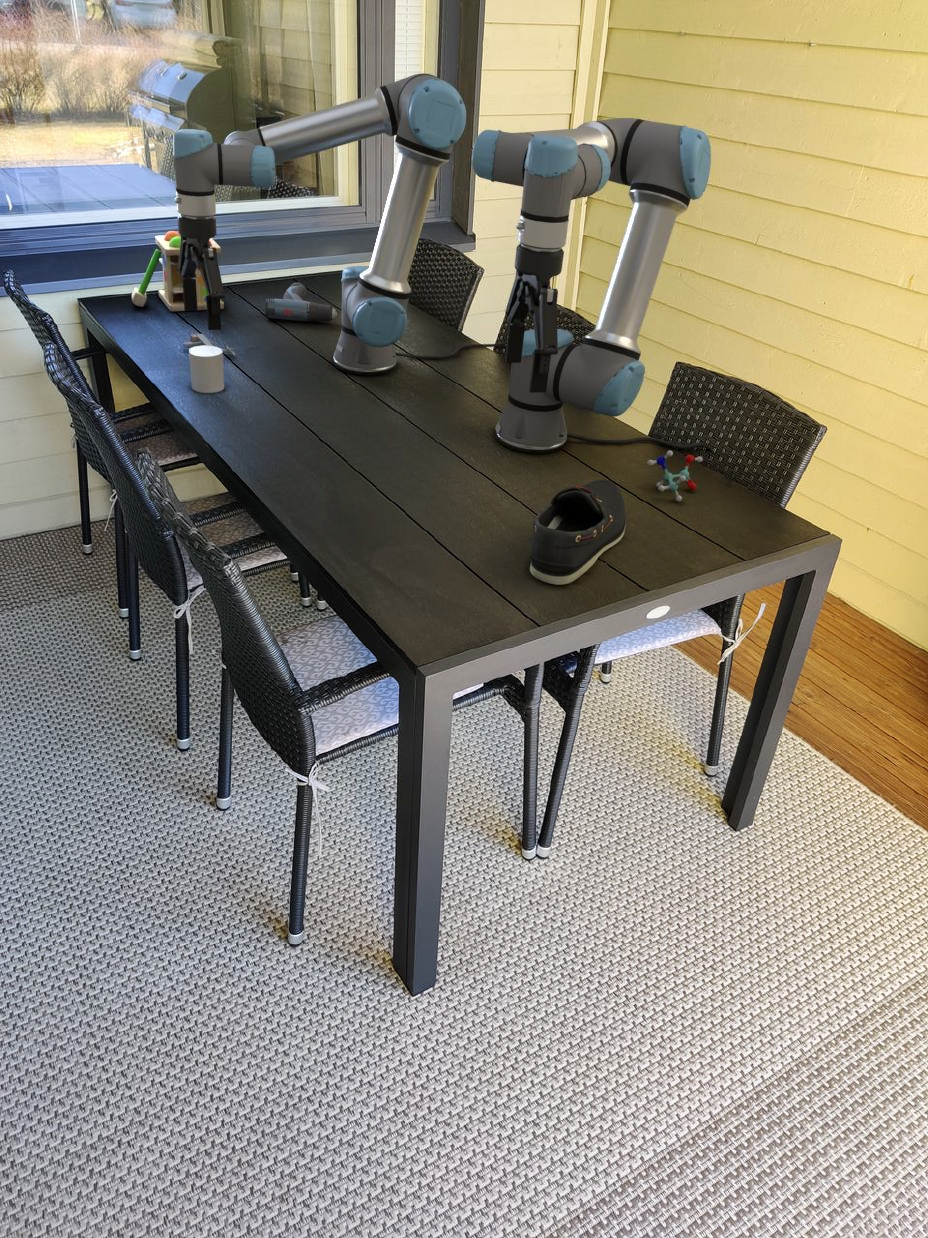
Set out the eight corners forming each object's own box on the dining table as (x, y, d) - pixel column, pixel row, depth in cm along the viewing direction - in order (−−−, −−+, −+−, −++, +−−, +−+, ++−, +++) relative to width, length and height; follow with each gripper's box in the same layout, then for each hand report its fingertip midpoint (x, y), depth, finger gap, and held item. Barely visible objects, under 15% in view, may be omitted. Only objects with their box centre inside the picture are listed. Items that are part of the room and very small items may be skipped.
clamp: (178, 335, 238) (218, 331, 242) (178, 343, 239) (218, 340, 243) (197, 356, 227) (238, 351, 232) (197, 365, 228) (239, 360, 233)
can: (185, 385, 218) (182, 349, 214) (212, 378, 223) (210, 343, 218) (203, 395, 214) (201, 358, 210) (230, 388, 219) (229, 352, 214)
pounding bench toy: (137, 313, 255) (129, 242, 244) (126, 297, 265) (119, 228, 255) (225, 308, 264) (221, 239, 254) (211, 293, 274) (207, 225, 264)
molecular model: (706, 495, 186) (690, 444, 184) (657, 509, 189) (642, 459, 188) (711, 487, 196) (697, 439, 195) (665, 501, 200) (651, 454, 198)
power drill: (344, 304, 276) (335, 327, 259) (277, 298, 275) (264, 321, 258) (344, 285, 273) (335, 306, 256) (277, 279, 272) (264, 300, 255)
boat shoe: (648, 521, 183) (657, 470, 178) (567, 591, 159) (574, 534, 154) (587, 503, 189) (593, 452, 184) (499, 567, 165) (504, 512, 160)
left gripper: (157, 201, 205) (165, 303, 216) (201, 231, 188) (207, 339, 200) (192, 200, 208) (197, 300, 220) (238, 229, 192) (242, 336, 204)
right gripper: (495, 225, 162) (483, 350, 174) (543, 267, 143) (526, 405, 155) (538, 226, 164) (523, 350, 176) (591, 268, 145) (570, 404, 157)
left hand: (202, 319), depth 210 cm, fingers open, 13 cm apart
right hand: (524, 376), depth 165 cm, fingers open, 13 cm apart
